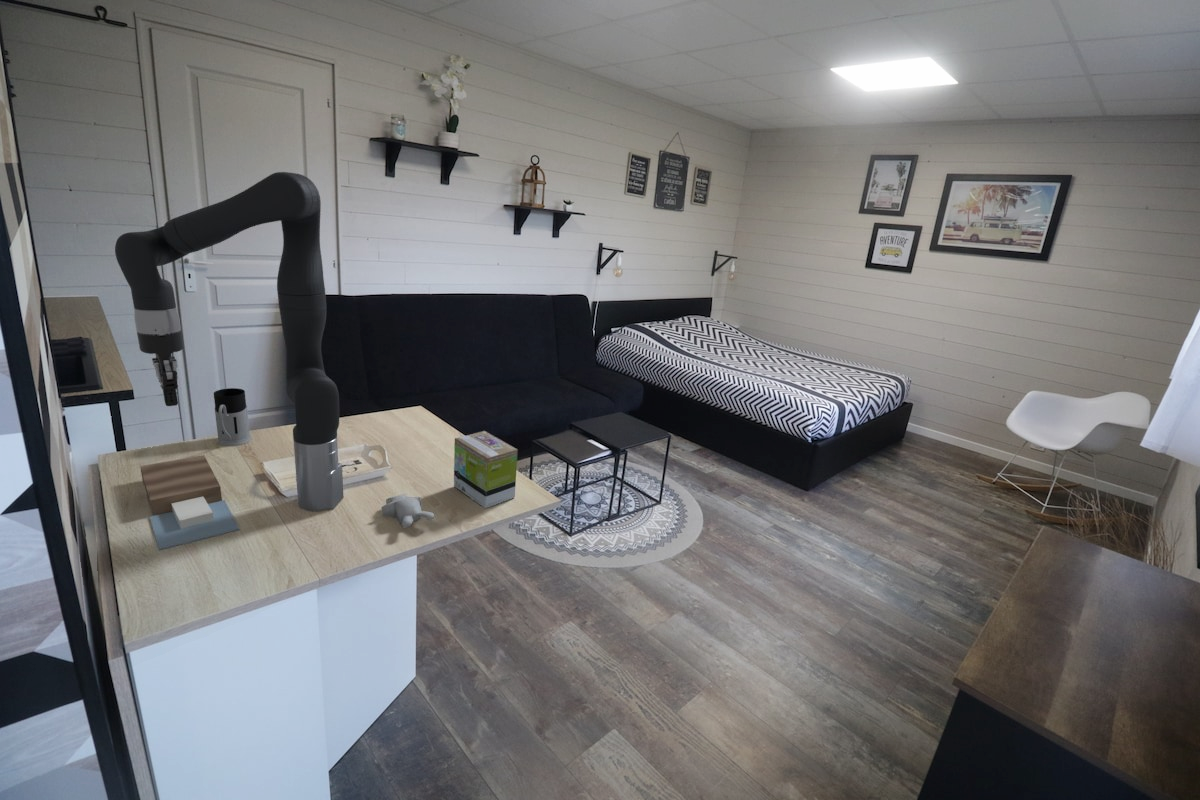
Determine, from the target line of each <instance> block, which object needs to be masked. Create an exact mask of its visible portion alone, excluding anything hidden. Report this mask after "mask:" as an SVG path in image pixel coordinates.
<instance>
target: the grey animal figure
mask: <svg viewBox="0 0 1200 800" xmlns="http://www.w3.org/2000/svg"><path fill="white" fill-rule="evenodd" d="M421 499H422V498H421V497H419V496H414V497H413V496H412V497H409V496H408V495H407V493H404V494H400V495H395V496H392V497H388V498H386V499H385V503H386V504H385V505H383V506H381V516H382V517H389V518H393V517H394V518H396V522H398V523H399V525H401V527H402V528H409V527H411V526H412V524H413V522H417V521H419V520H421V518H423V519H426V520H432V521H433V520H436V516H435V514H434V513H433V512H430V511H425V510H422V507H421V506H422V500H421Z"/></svg>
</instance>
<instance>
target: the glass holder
mask: <svg viewBox="0 0 1200 800" xmlns="http://www.w3.org/2000/svg"><path fill="white" fill-rule="evenodd" d="M245 391H246V390H245V389H242V388H236V387H235V388H234V387H233V388H222V389H218V390H216V391H214V392H213V401H214V415H215V422H216V430H217V440H216V445H219V446H222V447H237V446H238V447H239V446H243V445H246V444H249V443H250V442H251V441H252V440H253V438H252V436H251V432H250V422H249V412H248V405H247V401H246V392H245Z"/></svg>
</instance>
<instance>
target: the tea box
mask: <svg viewBox="0 0 1200 800" xmlns="http://www.w3.org/2000/svg"><path fill="white" fill-rule="evenodd" d="M453 445H454V453H453V456H454V460H453V461H454V465H453V486H454V487H455V488H457V489H458V490H459V491H461V492H462V493H463V494H465V495H466V496H467V497H469V498H470V499H471V500H473V501H475V502H476V503H477V504H478V505H480V506H481V507H482V506H483V509H488V508H491V507H493V505H494V506H496V504H497V505H499V504H502V503H504V502H503V501H505V502H507V501H509V499H510V500H513V499H515V497H516V482H517V465H518V452H519V451H518V448H515V447H514V446H512V445H511V444H509V443H507V442H505V441H503V440H502V439H500V438H499V437H496V436H495V435H493V434H491V433H489V432H488V431H485V430H483V431H478V432H474V433H471V434H467V435H463V436H459V437H455V438H454V444H453ZM512 498H513V499H512ZM506 500H507V501H506ZM501 502H502V503H501ZM498 503H499V504H498ZM490 506H491V507H490Z"/></svg>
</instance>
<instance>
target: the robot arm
mask: <svg viewBox="0 0 1200 800" xmlns="http://www.w3.org/2000/svg"><path fill="white" fill-rule="evenodd" d="M321 203H322V201H321V196H320V192H319V189H318V187H317V186H316V184H315V183H314V182H313V181H312V180H311V179H310V178H308V177H307V176H305V175H303V174H302V173H301V174H299V173H296V172H288V171H287V172H286V171H277V172H274V173H271V174H269V175H268V176H266V177H264V178H263V179H261V180H260V181H258V182H255V184H253V185H251V186H250V187H248V188H246V189H244V190H243V191H241V192H239V193H236V194H234V195H233V196H231V197H229V198H226V199H224V200H222V201H219V202H216V203H214V204H210V205H208V206H204V207H201V208H199V209H195V210H193V211H190V212H188V213H185V214H181V215H179V216H177V217H176V216H175V217H174V218H171V219H169V220H168V221H166V222H165V223H164V225H162V226H160V227H157V228H154V229H150V230H146V231H132V232H126V233H123V234H121V235H120V236H119V237H118V238H117V239H116V242H115V245H114V253H115V258H116V260H117V263H118V266H119V268H120V270H121V272H122V274H123V276H124V278H125V281H126V282H127V284H128V286H129V287H130V291H131V292H130V293H131V298H132V304H133V311H134V317H133V318H134V324H135V328H136V335H137V340H138V346H139V350H140V351H141V352H142V353H143V354H148V355H149V354H150V355H155V357H151V361H152V365H153V367H154V371H155V376H156V378H157V380H158V383H159V384H160V388H161V390H162V394H163V400H164V404H165V406H166V407H173V406H178V405H179V402H178V401H179V400H178V393H177V389H178V387H179V386H178V370H177V369H178V361H177V359H176V357H175V355H174V356H172V354H173V353H178V352H180V351H182V350H183V349H185V345H184V340H183V332H182V327H181V326H182V325H181V321H180V315H179V313H178V309H177V304H176V297H175V291H174V288H173V284H172V283H171V282H170V281H169V280H166V279H165V278H162V277H161V274H160V272H159V269H158V267H160V266H164V265H167V264H170V263H173V262H175V261H178V260H180V259H181V258H184V257H186V256H188V255H189V254H192V253H196V252H199V251H201V250H204V249H207V248H209V247H213V246H216V245H218V244H221V243H222V242H224V241H227V240H228V239H230V238H232V237H234V236H235V235H237V234H239V233H241V232H244V231H246V230H247V229H250V228H253V227H256V226H260V225H265V224H268V223H274V222H281V230H282V238H283V243H282V244H283V245H282V251H281V256H280V261H279V265H278V266H279V267H278V273H277V279H276V290H277V301H278V308H279V316H280V322H281V329H282V334H283V338H284V344H285V353H286V356H285V357H286V370H285V371H286V373H285V374H286V375H285V376H286V378H285V379H286V380H285V387H286V389H285V390H286V393H287V396H288V397H289V399H290V401H291V402H292V403H293V404H294V408H295V425H294V427H293V429H292V437H293V439H292V441H293V451H294V465H295V480H296V481H295V482H296V491H297V496H296V497H297V503H298V507H299V508H300V509H302V510H304V511H309V512H319V511H320V512H321V511H325V510H334V509H335V508H336V507H337V506H338V505H339V503H340V502H341V501H343V499H344V479H343V478H344V477H343V465H342V463H341V462H340V463H339V450H338V429H339V426H340V395H339V390H338V387H337V384H336V383H335V382H334V381H333V380H332V379H331V378H329V377H328V376H327V375H326V371H325V366H324V361H323V355H322V339H323V335H324V332H325V331H324V330H325V327H326V321H327V297H326V287H325V278H324V268H323V259H322V251H321V241H320V240H321V238H320V237H321V235H320V234H321V211H322V210H321V209H322V208H321V207H322V206H321V205H322V204H321Z"/></svg>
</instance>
